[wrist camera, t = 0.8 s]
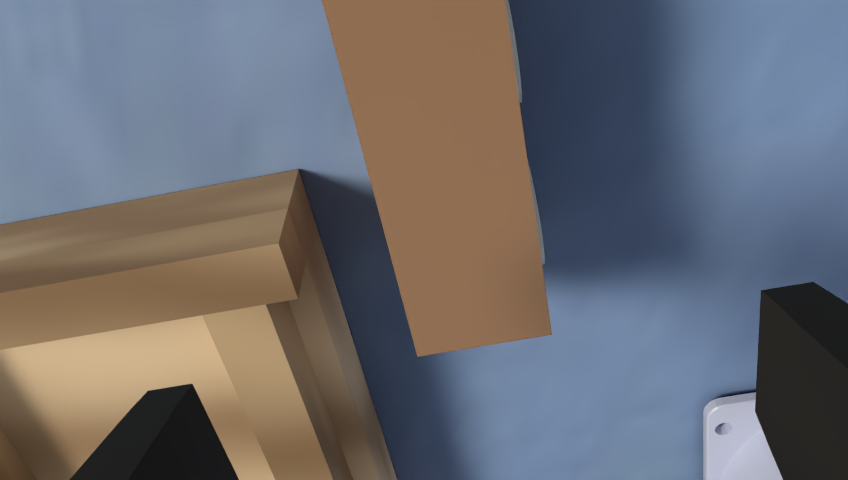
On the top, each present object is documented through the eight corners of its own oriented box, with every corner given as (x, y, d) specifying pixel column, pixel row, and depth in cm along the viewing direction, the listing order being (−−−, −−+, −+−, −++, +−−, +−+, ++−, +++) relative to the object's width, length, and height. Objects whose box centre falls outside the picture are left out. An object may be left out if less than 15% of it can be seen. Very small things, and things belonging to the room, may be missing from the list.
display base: (410, 521, 26) (411, 616, 24) (86, 567, 28) (47, 664, 25) (298, 169, 19) (278, 243, 16) (-137, 250, 20) (-231, 334, 17)
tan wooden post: (530, 226, 20) (558, 333, 17) (415, 247, 21) (417, 356, 17) (484, -88, 16) (508, -42, 12) (341, -57, 16) (321, -3, 13)
